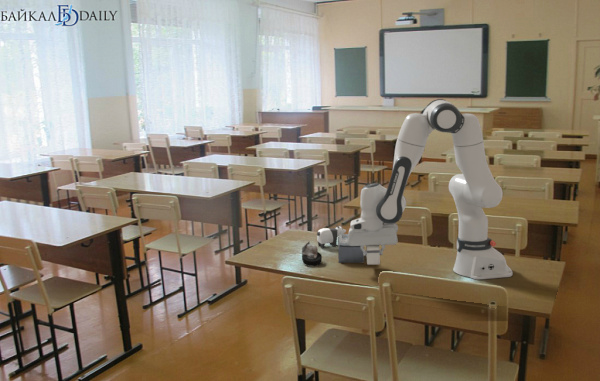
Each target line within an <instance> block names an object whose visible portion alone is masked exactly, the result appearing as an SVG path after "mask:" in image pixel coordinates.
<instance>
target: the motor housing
mask: <svg viewBox="0 0 600 381" xmlns="http://www.w3.org/2000/svg"><path fill="white" fill-rule="evenodd" d="M337 243H338V244H337V245H338V246H337V253H338V255H337V256H338V263H339V264H342V263H344V264H345V263H346V264H348V263H350V264H351V263H353V264H355V263H361V264H362V263H363V264H364V263H365V256H363V251H362V250H361V248H360V246H350V245H349V244H348V233H343V234H340V235H339V236H338V237H337Z"/></svg>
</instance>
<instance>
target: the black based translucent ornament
mask: <svg viewBox="0 0 600 381" xmlns="http://www.w3.org/2000/svg"><path fill="white" fill-rule="evenodd" d="M322 259H323V256H322V254H321V253H320V252H319V251H318V247H317V246H316V245H315V244H314V245H313V244H310V241H307V243H306V244H304V246H303V247H302V248H301V260H302V263H303V264H304V265H305V266H308V267H316V266H319V265H320V264H321V263H322V261H323V260H322Z"/></svg>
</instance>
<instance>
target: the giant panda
mask: <svg viewBox="0 0 600 381" xmlns="http://www.w3.org/2000/svg"><path fill="white" fill-rule="evenodd" d="M346 232H347V229H344V228H343V227H342V226H340V225H338V224H337V225H336V227H332V228H330V227H329V228H327V227H325V228H324V227H323V228H320V229H318V231H317V233H316V239H317V240H316V241H317V244H318V245H317V246H318V247H320V249H326V248H327V247H326V244H329V245H330V246H331V245H332V247H333V248H336V246H337V247H338V244H337V243H338V237H339V235H340V234H346Z"/></svg>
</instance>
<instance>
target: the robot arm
mask: <svg viewBox="0 0 600 381" xmlns="http://www.w3.org/2000/svg"><path fill="white" fill-rule="evenodd" d="M403 120H404V121H403V122H402V125H401V127H400V129H399V133H398V135H397V139H396V143H395V148H394V156H393V163H392V172H391V175H390V179H389V182H388V185H387V187H385V186H382V184H380V183H377V182H373V183H369V184H365V185H364V186H363V187H362V188H361V190H360V196H359V197H360V204H359V205H360V210H361V214H360V217H359V218H356V219H353V220H351V221H350V224H349V225H350V227H349V230H348V233H347V234H348V244H349V245H350V246H360V248H361V250H362V251H363V256H364V257H367V250H365V247H366V246H367V245H379V246H381V248H380V256H383V255H384V254H383V253H384V250H385V249H386V246H394V245H397V243H398V241H399V240H398V234H397V232H398V230H399V226H398V223H397V222H399V221H400V220H401V218H402V216H403V213H404V211H405V208H406V206H407V199H406V197H405V195H404V192H405V189H406V186H407V183H408V180H409V177H410V175H411V173H412V172H413V170H414V169H415V168H416V166H417V165H418V164H419V162H420V160H421V158H422V156H423V154H424V151H425V149H426V146H427V141H428V138H429V137H430V134H431V133H433V132H434V131H438V132H439V133H447V134H448V133H449V134H451V137H452V145H453V151H454V160H455V164H456V167H457V168H458V169H459V170H460V172H461V173H457V174H455V175H453V176H452V177H451V179H450V180H449V182H448V192H449V194H450V195H451V196H452V198H453V201H454V203H455V207H456V212H457V217H458V232H457V233H458V236H457V237H456V251H457V252H456V259H455V261H454V265H453V270H452V271H453V272H454V273H456V274H458V275H460V276H463V277H468V278H471V279H473V280H487V279H488V280H489V279H498V278H499V279H500V278H501V279H502V278H511V277H512V276H513V269H511V268H510V266H508V265H507V261H506V258H505V256H504V255H503V253H501V252H499V251H498V250H497V249H495V248H494V247H496V245H497V243H496V242H495V241H494V240H493V239H491V238H490V237H489V236H488V233H489V231H488V230H489V229H488V228H489V219H488V216H487V215H486V213H485V212H484V209H485V208H486V209H488V208H489V209H491V208H495V207H497V206H498V205H499V204H500V203H501V201H502V199H503V196H504V194H503V189H502V187H501V186H500V185H499V184H498V182H497V181H496V179H495V178H494V176H493V174H492V171H491V169H490V167H489V164H488V161H487V157H486V149H485V143H484V136H483V132H482V127H481V124H480V121H479V120H480V119H479V118H478V117H477V116H476V115H475V114H473V113H467V112H466V113H462V112H461V111H460V110H459V109H458V108H457V107H456V105H454V104H453V103H452V102H450V101H448V100H446V99H443V98H438V99H434V100H432V101H430V102H429V103H428V104H427V105H426V106H425V108H423V109H422V110H421V111H420V113H419V112H414V113H413V112H412V113H409V114H407V115H406V117H405V118H404V119H403ZM483 208H484V209H483Z"/></svg>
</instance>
